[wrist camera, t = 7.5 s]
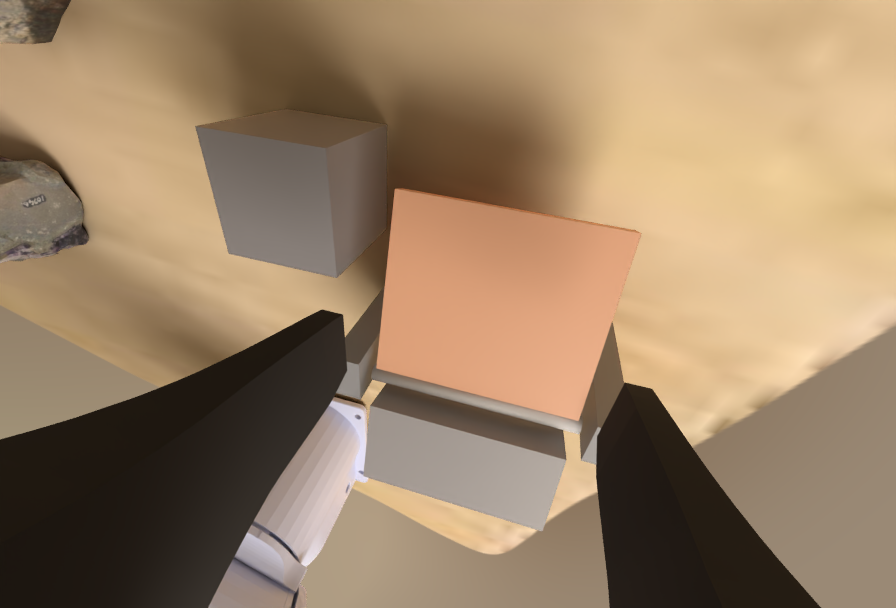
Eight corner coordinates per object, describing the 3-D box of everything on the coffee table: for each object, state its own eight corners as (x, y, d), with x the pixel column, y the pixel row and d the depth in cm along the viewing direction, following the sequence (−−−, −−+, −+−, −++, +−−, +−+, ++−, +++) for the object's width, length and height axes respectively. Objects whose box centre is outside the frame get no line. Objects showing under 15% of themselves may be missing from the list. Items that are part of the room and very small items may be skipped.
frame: (596, 360, 20) (609, 476, 14) (392, 312, 22) (335, 400, 16) (612, 322, 18) (633, 436, 13) (393, 274, 20) (330, 357, 15)
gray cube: (386, 228, 19) (336, 277, 15) (300, 211, 20) (228, 253, 15) (387, 124, 16) (325, 148, 12) (286, 108, 17) (195, 126, 13)
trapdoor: (550, 488, 17) (552, 534, 15) (376, 437, 18) (354, 473, 16) (635, 228, 13) (656, 238, 11) (404, 186, 14) (380, 188, 12)
